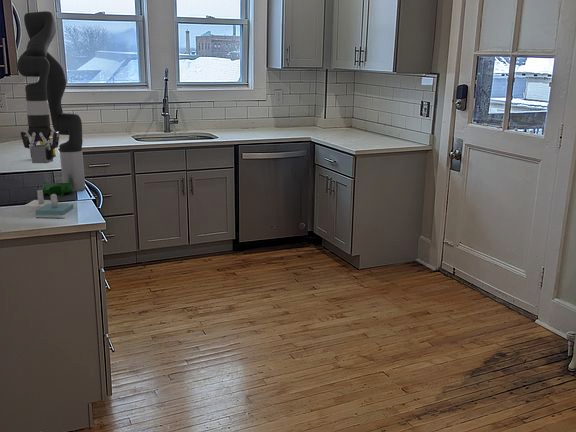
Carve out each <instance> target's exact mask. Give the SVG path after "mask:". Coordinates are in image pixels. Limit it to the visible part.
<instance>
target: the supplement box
mask: <svg viewBox="0 0 576 432" xmlns="http://www.w3.org/2000/svg"><path fill="white" fill-rule="evenodd" d="M50 140H51V143H52V142H53V137H52V136H50ZM39 145H45V144H44V142H41V141H39ZM53 153H54V157H57V156H56V155H57V154H56V148H54V149H53Z"/></svg>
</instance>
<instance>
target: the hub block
mask: <svg viewBox="0 0 576 432" xmlns="http://www.w3.org/2000/svg"><path fill="white" fill-rule="evenodd" d="M57 195H58V194H52V195H51V196H50V200H51V204H46V205H44V206H42V207H39V208H37V209H36V210H35V215H41V216H37V217H35V218H36V219H46V220H47V219H49V220H50V219H51V220H52V219H53V220H55V219H57V220H59V219H60V220H63V219H65V217H48V216H51V215H52V216H53V215H54V216H64V215H65V214H67V213H68V212H70V211H72V210H73V209H74V208H75V207H74V203H58V201H57V200H58V196H57ZM42 215H43V216H44V217H43V216H42ZM45 215H46V216H47V217H46V216H45Z"/></svg>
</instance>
